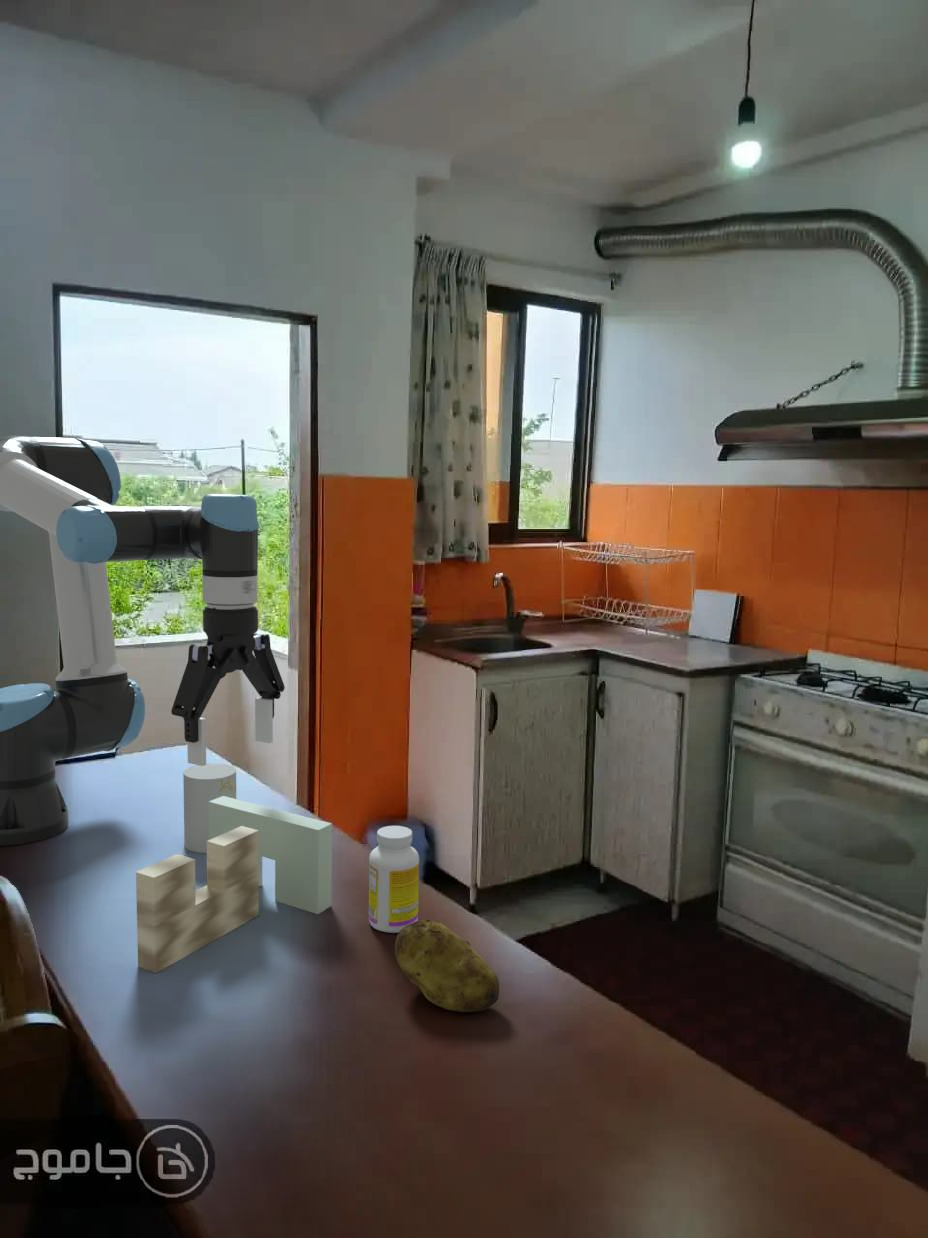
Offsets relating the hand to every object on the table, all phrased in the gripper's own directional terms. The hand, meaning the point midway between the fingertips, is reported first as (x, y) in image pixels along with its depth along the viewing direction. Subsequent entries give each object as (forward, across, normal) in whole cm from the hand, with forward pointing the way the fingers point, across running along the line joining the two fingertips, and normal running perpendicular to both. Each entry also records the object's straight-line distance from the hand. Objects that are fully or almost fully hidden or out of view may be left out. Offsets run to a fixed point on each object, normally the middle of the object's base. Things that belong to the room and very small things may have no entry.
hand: (231, 752), depth 134 cm
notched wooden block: (+20, -15, -9) cm, 26 cm away
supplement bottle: (+20, +2, -27) cm, 33 cm away
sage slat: (+20, 0, -7) cm, 21 cm away
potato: (+20, -10, -42) cm, 47 cm away
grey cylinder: (+20, +9, +13) cm, 25 cm away
